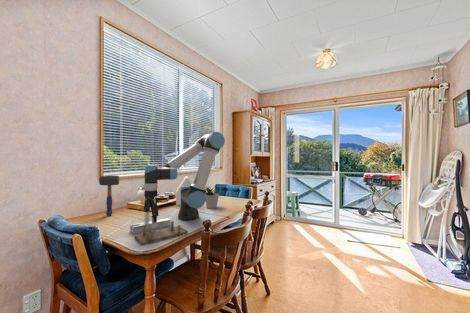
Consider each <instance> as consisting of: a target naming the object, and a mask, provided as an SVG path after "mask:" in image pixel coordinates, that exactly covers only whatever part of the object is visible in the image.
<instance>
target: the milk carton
mask: <svg viewBox="0 0 470 313" xmlns="http://www.w3.org/2000/svg"><path fill="white" fill-rule="evenodd" d="M191 184H193V183H192V180H191V179H190V177H189V176H187V175H185V176H184V178H183V179H182V181H181V183H180V184H179V186H177V188H176V190H175V191H176V192H175V206H177V207H178V206H181V192H180V191H181V187H184V186H190V185H191Z"/></svg>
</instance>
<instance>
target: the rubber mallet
mask: <svg viewBox="0 0 470 313" xmlns="http://www.w3.org/2000/svg"><path fill="white" fill-rule="evenodd" d="M98 184H99V186H107V196H106V201H105V202H106V213H105V214H106V216H107V217H110V216H112V215H113V207H112V206H113V196H112V186H117V185H118V186H119V184H120V176H119V175H100V176H99V180H98Z"/></svg>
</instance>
